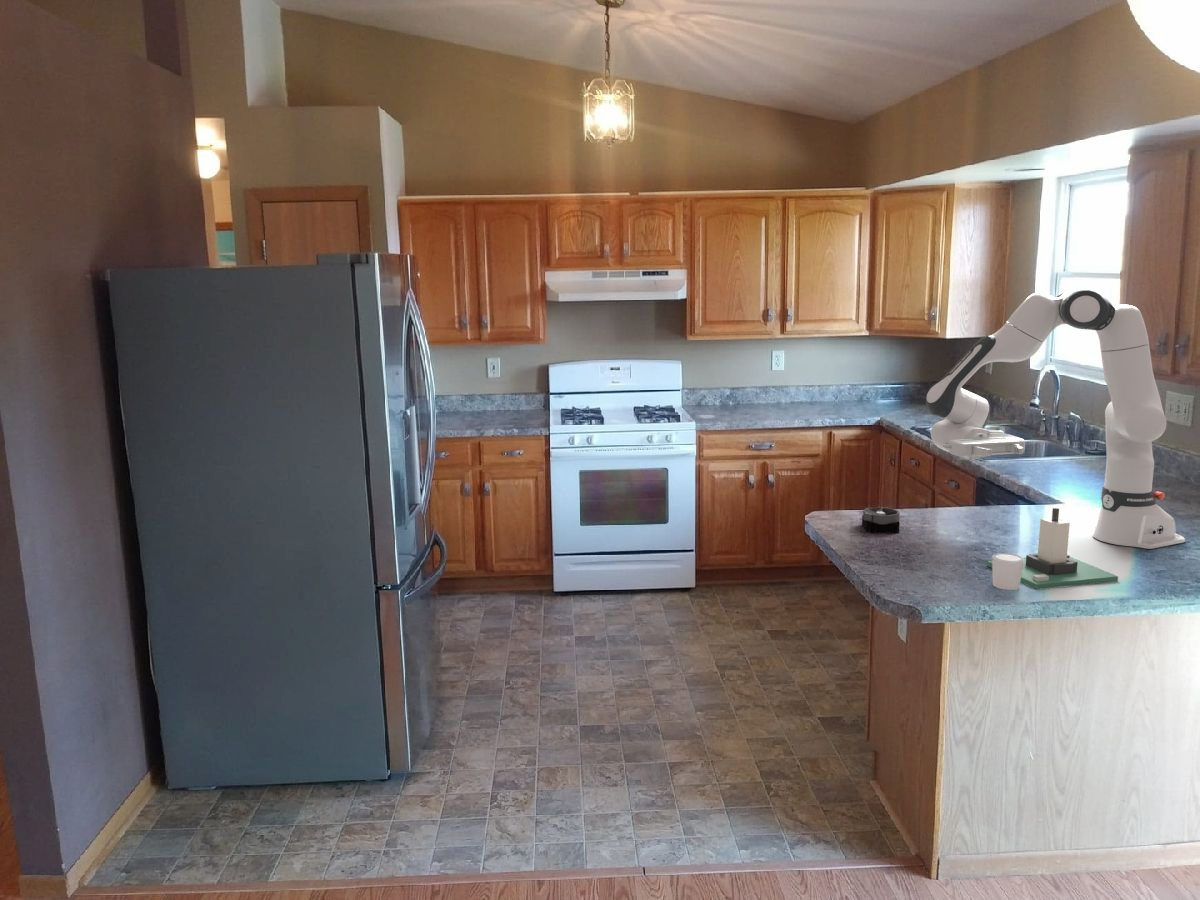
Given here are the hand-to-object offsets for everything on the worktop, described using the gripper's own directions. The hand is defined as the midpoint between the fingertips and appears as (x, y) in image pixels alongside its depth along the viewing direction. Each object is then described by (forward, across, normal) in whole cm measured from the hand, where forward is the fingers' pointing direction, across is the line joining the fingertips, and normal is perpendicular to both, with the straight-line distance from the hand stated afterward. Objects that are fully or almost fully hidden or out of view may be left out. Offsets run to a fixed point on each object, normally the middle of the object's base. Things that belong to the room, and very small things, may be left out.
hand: (1005, 451), depth 231 cm
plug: (+22, -2, +25) cm, 33 cm away
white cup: (+27, -18, +26) cm, 42 cm away
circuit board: (+22, -2, +26) cm, 34 cm away
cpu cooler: (-24, -21, +26) cm, 42 cm away
